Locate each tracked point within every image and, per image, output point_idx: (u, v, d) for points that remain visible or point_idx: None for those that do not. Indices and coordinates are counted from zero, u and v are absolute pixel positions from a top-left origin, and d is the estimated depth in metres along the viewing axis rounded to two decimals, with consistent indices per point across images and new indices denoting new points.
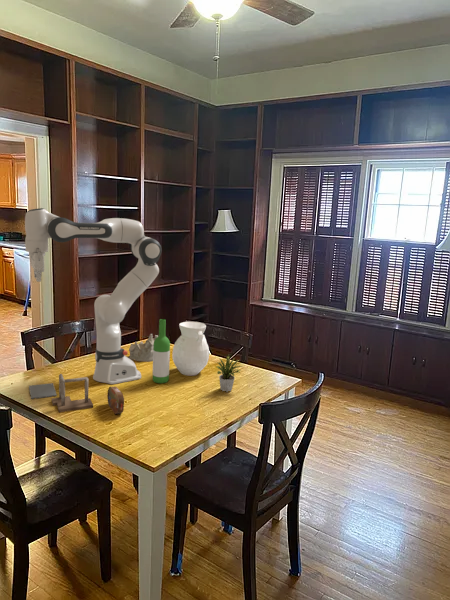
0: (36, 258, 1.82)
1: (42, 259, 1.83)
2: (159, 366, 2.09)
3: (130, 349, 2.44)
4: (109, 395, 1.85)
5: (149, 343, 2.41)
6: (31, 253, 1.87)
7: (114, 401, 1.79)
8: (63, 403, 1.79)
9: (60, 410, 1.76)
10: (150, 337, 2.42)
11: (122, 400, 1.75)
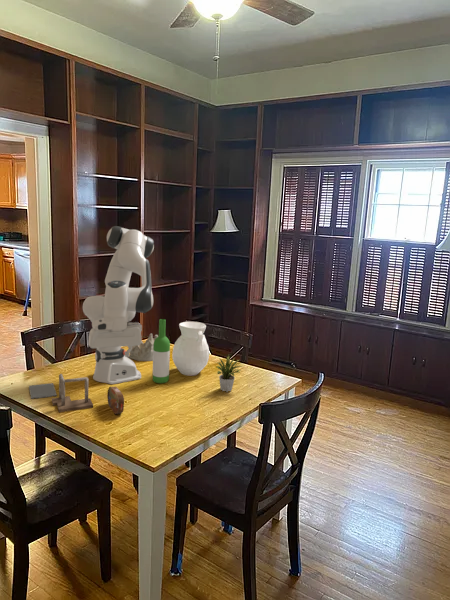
0: None
1: None
2: (159, 366, 2.09)
3: None
4: (109, 395, 1.85)
5: (149, 343, 2.42)
6: (122, 330, 1.74)
7: (114, 401, 1.79)
8: (63, 403, 1.79)
9: (60, 410, 1.76)
10: (150, 337, 2.42)
11: (122, 400, 1.75)
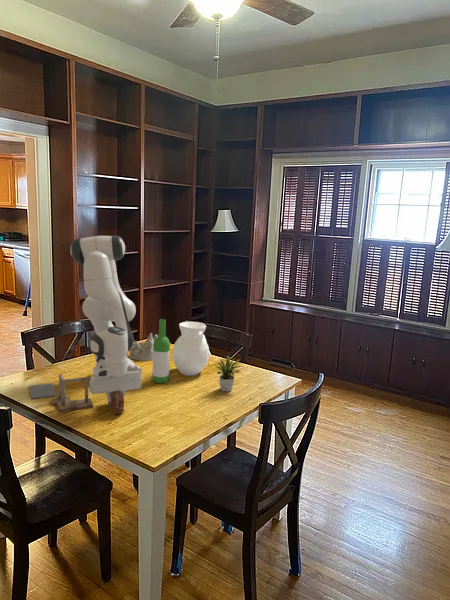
0: (140, 375, 1.82)
1: None
2: (159, 366, 2.09)
3: None
4: (109, 395, 1.85)
5: (149, 342, 2.42)
6: (122, 375, 1.77)
7: (114, 401, 1.79)
8: (63, 403, 1.79)
9: (60, 410, 1.76)
10: (150, 336, 2.43)
11: (122, 400, 1.75)
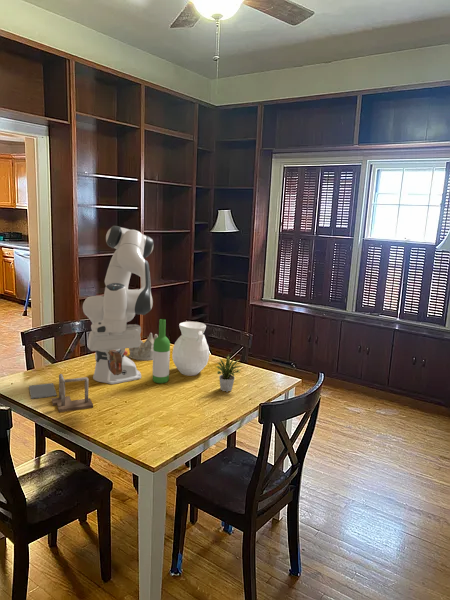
0: None
1: None
2: (159, 366, 2.09)
3: (130, 348, 2.46)
4: None
5: (149, 342, 2.43)
6: (121, 332, 1.74)
7: (113, 363, 1.76)
8: (63, 403, 1.79)
9: (60, 410, 1.76)
10: (150, 336, 2.43)
11: (120, 360, 1.72)
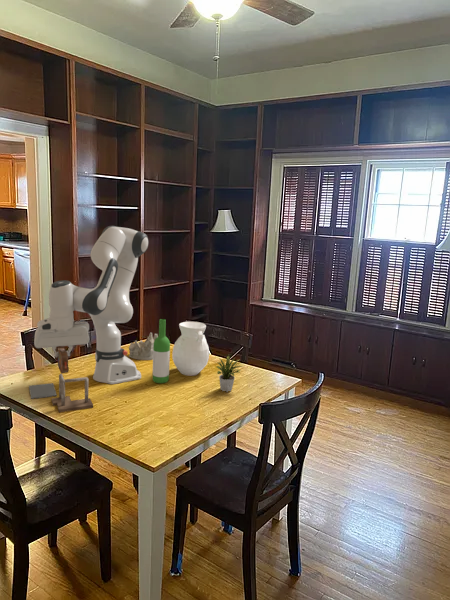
0: (87, 330, 1.80)
1: None
2: (159, 366, 2.09)
3: (130, 348, 2.46)
4: (58, 357, 1.83)
5: (149, 342, 2.43)
6: (68, 329, 1.75)
7: (60, 361, 1.77)
8: (63, 403, 1.79)
9: (60, 410, 1.76)
10: (150, 336, 2.44)
11: (66, 358, 1.73)
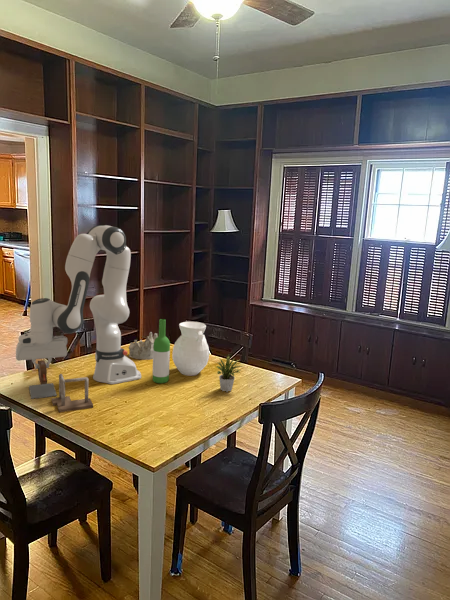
0: (65, 344, 1.94)
1: None
2: (159, 366, 2.09)
3: (130, 347, 2.47)
4: (39, 369, 1.98)
5: (149, 341, 2.44)
6: (47, 343, 1.89)
7: None
8: (63, 403, 1.79)
9: (60, 410, 1.76)
10: (150, 335, 2.45)
11: (44, 371, 1.87)
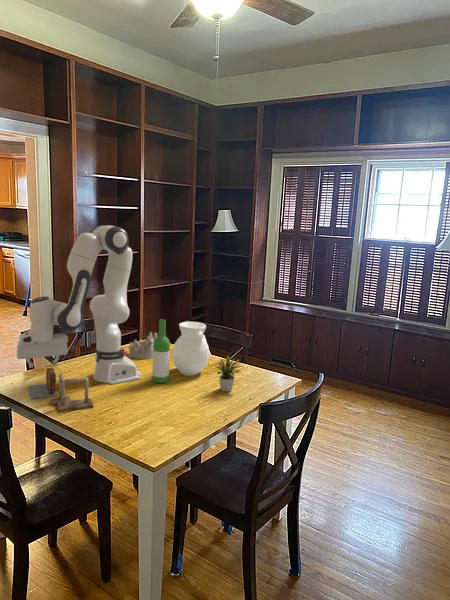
0: (66, 342, 1.94)
1: None
2: (159, 366, 2.09)
3: (130, 347, 2.47)
4: (47, 376, 2.00)
5: (149, 341, 2.45)
6: (47, 341, 1.89)
7: None
8: (63, 403, 1.79)
9: (60, 410, 1.76)
10: (150, 335, 2.46)
11: (54, 380, 1.89)
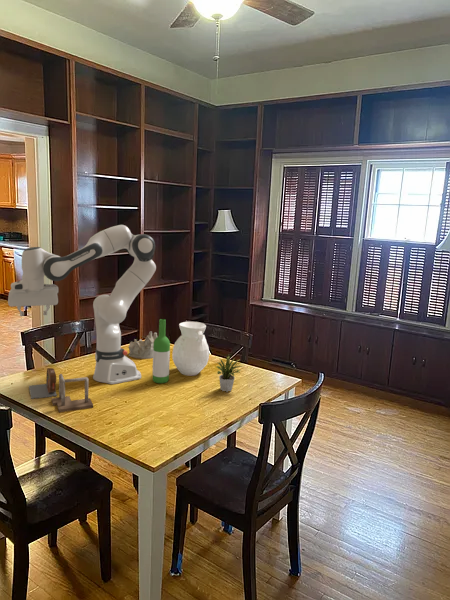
0: (56, 292, 2.00)
1: None
2: (159, 366, 2.09)
3: (130, 347, 2.48)
4: (47, 376, 2.00)
5: (149, 340, 2.46)
6: (38, 290, 1.95)
7: (49, 381, 1.94)
8: (63, 403, 1.79)
9: (60, 410, 1.76)
10: (150, 335, 2.46)
11: (54, 380, 1.89)
